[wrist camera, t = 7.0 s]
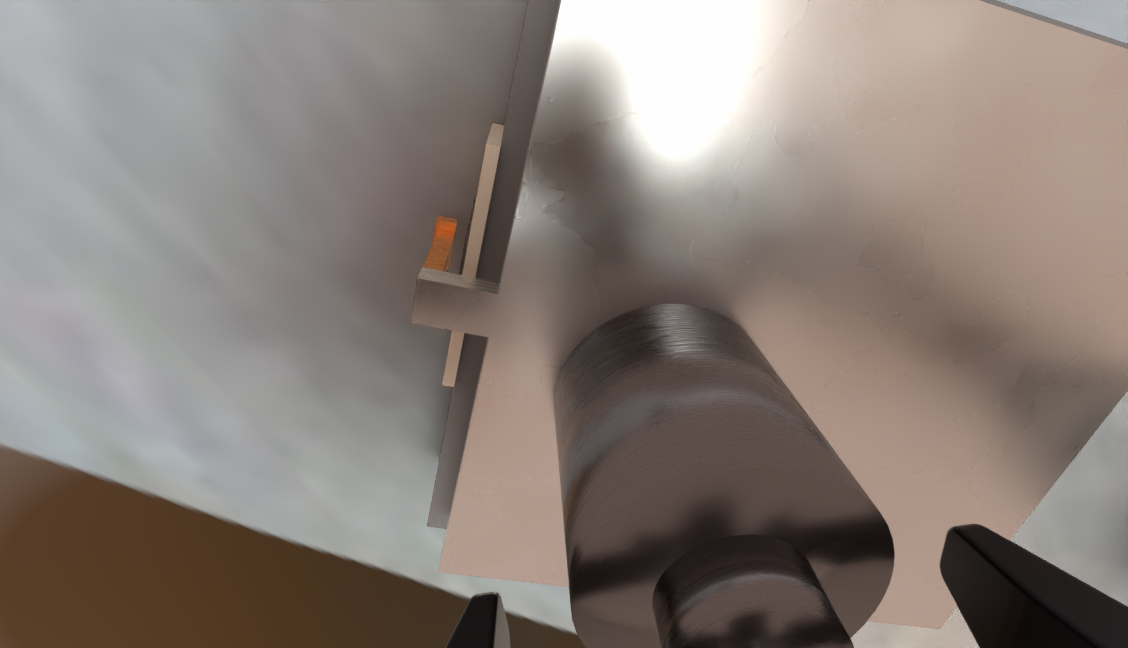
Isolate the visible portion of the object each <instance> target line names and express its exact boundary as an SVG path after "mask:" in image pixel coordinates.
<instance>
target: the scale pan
mask: <svg viewBox="0 0 1128 648" xmlns="http://www.w3.org/2000/svg"><path fill="white" fill-rule="evenodd" d="M457 220H458V219H453V218H448V217H444V216H439V215H438V216H437V219H436V223H435V229H434V236H433V242H432V246H431V249H430V251H429V254H428V256H427V259H426V261H425V263H424V266H423V267H422V268H421V270H420V273H419V275H418V278H417V284H416V291H415V297H414V304H413V311H412V318H411V323H413V324H419V325H424V326H430V327H435V328H441V329H446V330H451V331H457V332H462V333H468V334H473V335H479V336H484V337H488V338H487V342H486V347H485V352H484V356H483V361H482V366H481V370H480V375H479V380H478V384H477V389H476V394H475V398H474V403H473V408H472V412H471V417H470V422H469V426H468V431H467V436H466V440H465V445H464V450H463V454H462V459H461V464H460V468H459V473H458V478H457V482H456V487H455V492H454V496H453V501H452V506H451V510H450V515H449V520H448V524H447V529H446V534H445V538H444V543H443V548H442V552H441V559H440V565H439V572H442V573H451V574H460V575H468V576H477V577H486V578H495V579H504V580H512V581H521V582H530V583H539V584H547V585H556V586H565V587H569V580H568V568H567V557H566V545H565V533H564V522H563V510H562V498H561V487H560V475H559V463H558V452H557V440H556V429H555V417H554V393H555V388H556V383H557V380H558V378H559V375H560V372H561V370H562V368H563V366H564V364H565V362H566V361H567V359H568V357H569V356H570V355H571V353H572V352H573V351H574V349H575V348H576V347H577V346H578V345H579V344H580V343H581V342H582V340H583V339H584V338H585V337H587V336H588V335H589V334H590V333H591V332H593V331H594V330H595V329H596V328H598V327H599V326H601V325H603V324H604V323H606V322H607V321H609V320H611V319H613V318H615V317H617V316H619V315H621V314H624V313H626V312H629V311H632V310H635V309H638V308H643V307H647V306H652V305H661V304H686V305H693V306H698V307H702V308H706V309H709V310H712V311H714V312H717V313H719V314H721V315H724V316H725V317H727V318H728V319H730V320H732V321H733V322H735V323H736V324H737V325H738V326H740V327H741V328H742V329H743V330H744V331H745V332H746V333H747V334H748V335H749V336H750V337H751V339H752V340H753V341H754V342H755V344H756V345H757V347H758V348H759V349H760V351H761V352H762V353H763V355H764V356H765V357H766V359H767V360H768V361H769V363H770V364H771V365H772V367H773V368H774V369H775V371H776V372H777V374H778V375H779V376H780V378H781V379H782V380H783V382H784V383H785V384H786V386H787V387H788V388H789V390H790V391H791V392H792V394H793V395H794V396H795V398H796V399H797V401H798V402H799V403H800V405H801V406H802V407H803V409H804V410H805V411H806V413H807V414H808V415H809V417H810V418H811V419H812V421H813V422H814V424H815V425H816V426H817V428H818V429H819V430H820V432H821V433H822V434H823V436H824V437H825V438H826V440H827V441H828V442H829V444H830V445H831V446H832V448H833V449H834V451H835V452H836V453H837V455H838V456H839V457H840V459H841V460H842V461H843V463H844V464H845V465H846V467H847V468H848V469H849V471H850V472H851V473H852V475H853V476H854V478H855V479H856V480H857V482H858V483H859V484H860V486H861V487H862V488H863V490H864V491H865V492H866V494H867V495H868V496H869V498H870V499H871V500H872V502H873V503H874V505H875V506H876V507H877V509H878V510H879V511H880V513H881V514H882V516H883V518H884V519H885V521H886V523H887V524H888V527H889V530H890V532H891V535H892V538H893V544H894V552H895V557H894V569H893V573H892V577H891V581H890V584H889V586H888V589H887V591H886V593H885V595H884V598H883V599H882V601H881V602H880V604H879V606H878V607H877V609H876V611H875V612H874V613H873V614H872V616H871V617H870V618H869V619H868V621H873V622H881V623H890V624H899V625H908V626H917V627H925V628H934V629H940V628H941V627H942V625H943V624H944V623H945V622H946V620H947V619H948V618H949V616H950V615H951V614H952V613H953V611H954V610H955V609H956V608H957V604H956V603H955V601H954V599H953V597H952V595H951V593H950V591H949V589H948V588H947V586H946V584H945V582H944V580H943V578H942V575H941V571H940V559H941V554H942V550H943V546H944V542H945V538H946V534H947V531H948V530H949V529H950V528H951V527H953V526H959V525H966V524H979V525H982V526H984V527H986V528H988V529H990V530H992V531H994V532H995V533H997V534H999V535H1001V536H1003V537H1004V538H1006V539H1008V540H1010V539H1011V538H1012V536H1013V535H1014V534H1015V533H1016V531H1017V530H1018V529H1019V528H1020V526H1021V525H1022V524H1023V523H1024V521H1025V520H1026V519H1027V517H1028V516H1029V515H1030V514H1031V512H1032V511H1033V510H1034V509H1035V507H1036V506H1037V505H1038V503H1039V502H1040V501H1041V500H1042V498H1043V497H1044V496H1045V495H1046V493H1047V492H1048V491H1049V489H1050V488H1051V487H1052V486H1053V484H1054V483H1055V482H1056V481H1057V479H1058V478H1059V477H1060V476H1061V474H1062V473H1063V472H1064V470H1065V469H1066V468H1067V467H1068V465H1069V464H1070V463H1071V462H1072V460H1073V459H1074V458H1075V456H1076V455H1077V454H1078V453H1079V451H1080V450H1081V449H1082V448H1083V446H1084V445H1085V444H1086V443H1087V441H1088V440H1089V439H1090V437H1091V436H1092V435H1093V434H1094V432H1095V431H1096V430H1097V429H1098V427H1099V426H1100V425H1101V423H1102V422H1103V421H1104V420H1105V418H1106V417H1107V416H1108V415H1109V413H1110V412H1111V411H1112V410H1113V408H1114V407H1115V406H1116V404H1117V403H1118V402H1119V401H1120V399H1121V398H1122V397H1123V396H1124V394H1125V393H1126V392H1127V390H1128V49H1126V48H1123V47H1120V46H1117V45H1114V44H1111V43H1108V42H1105V41H1102V40H1098V39H1095V38H1092V37H1089V36H1086V35H1083V34H1080V33H1077V32H1074V31H1071V30H1068V29H1065V28H1062V27H1059V26H1056V25H1053V24H1050V23H1047V22H1044V21H1041V20H1037V19H1034V18H1031V17H1028V16H1025V15H1022V14H1019V13H1016V12H1013V11H1010V10H1007V9H1004V8H1001V7H998V6H995V5H992V4H989V3H986V2H983V1H980V0H560V2H559V6H558V11H557V16H556V20H555V25H554V30H553V34H552V39H551V44H550V48H549V53H548V58H547V62H546V67H545V72H544V76H543V81H542V86H541V90H540V95H539V100H538V104H537V109H536V114H535V118H534V123H533V128H532V132H531V137H530V142H529V146H528V151H527V156H526V160H525V165H524V170H523V174H522V179H521V184H520V188H519V193H518V198H517V202H516V207H515V212H514V216H513V221H512V226H511V230H510V235H509V240H508V244H507V249H506V254H505V258H504V263H503V268H502V272H501V277H500V282H495V281H490V280H485V279H480V278H475V277H470V276H465V275H460V274H455V273H450V272H447V269H448V268H449V265H450V261H451V255H452V250H453V244H454V238H455V232H456V226H457Z"/></svg>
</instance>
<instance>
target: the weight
mask: <svg viewBox="0 0 1128 648" xmlns="http://www.w3.org/2000/svg"><path fill="white" fill-rule="evenodd" d="M554 417H555V429H556V440H557V452H558V463H559V475H560V487H561V498H562V510H563V522H564V533H565V545H566V557H567V568H568V580H569V591H570V603H571V612H572V620H573V623H574V626H575V629H576V632H577V634H578V636H579V637H580V639H581V641H582V643H583V645H584V646H585V647H586V648H854V647H853V643H852V641H851V639H850V638H851V637H852V636H853V635H854V634H855V633H856V632H857V631H858V630H859V629H860V628H861V627H862V626H863V625H864V624H865V623H866V622H867V621H868V619H869V618H870V617H871V616H872V614H873V613H874V612H875V611H876V609H877V607H878V606H879V604H880V602H881V601H882V599H883V598H884V595H885V593H886V591H887V589H888V586H889V584H890V581H891V577H892V573H893V569H894V557H895V552H894V544H893V538H892V535H891V532H890V530H889V527H888V524H887V523H886V521H885V519H884V518H883V516H882V514H881V513H880V511H879V510H878V509H877V507H876V506H875V505H874V503H873V502H872V500H871V499H870V498H869V496H868V495H867V494H866V492H865V491H864V490H863V488H862V487H861V486H860V484H859V483H858V482H857V480H856V479H855V478H854V476H853V475H852V473H851V472H850V471H849V469H848V468H847V467H846V465H845V464H844V463H843V461H842V460H841V459H840V457H839V456H838V455H837V453H836V452H835V451H834V449H833V448H832V446H831V445H830V444H829V442H828V441H827V440H826V438H825V437H824V436H823V434H822V433H821V432H820V430H819V429H818V428H817V426H816V425H815V424H814V422H813V421H812V419H811V418H810V417H809V415H808V414H807V413H806V411H805V410H804V409H803V407H802V406H801V405H800V403H799V402H798V401H797V399H796V398H795V396H794V395H793V394H792V392H791V391H790V390H789V388H788V387H787V386H786V384H785V383H784V382H783V380H782V379H781V378H780V376H779V375H778V374H777V372H776V371H775V369H774V368H773V367H772V365H771V364H770V363H769V361H768V360H767V359H766V357H765V356H764V355H763V353H762V352H761V351H760V349H759V348H758V347H757V345H756V344H755V342H754V341H753V340H752V339H751V337H750V336H749V335H748V334H747V333H746V332H745V331H744V330H743V329H742V328H741V327H740V326H738V325H737V324H736V323H735V322H733V321H732V320H730V319H728V318H727V317H725V316H724V315H721V314H719V313H717V312H714V311H712V310H709V309H706V308H702V307H698V306H693V305H686V304H661V305H652V306H647V307H643V308H638V309H635V310H632V311H629V312H626V313H624V314H621V315H619V316H617V317H615V318H613V319H611V320H609V321H607V322H606V323H604V324H603V325H601V326H599V327H598V328H596V329H595V330H594V331H593V332H591V333H590V334H589V335H588V336H587V337H585V338H584V339H583V340H582V342H581V343H580V344H579V345H578V346H577V347H576V348H575V349H574V351H573V352H572V353H571V355H570V356H569V357H568V359H567V361H566V362H565V364H564V366H563V368H562V370H561V372H560V375H559V378H558V380H557V383H556V388H555V393H554Z"/></svg>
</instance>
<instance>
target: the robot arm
mask: <svg viewBox="0 0 1128 648" xmlns="http://www.w3.org/2000/svg"><path fill="white" fill-rule="evenodd" d="M940 571H941V575H942V578H943V580H944V582H945V584H946V586H947V588H948V589H949V591H950V593H951V595H952V597H953V599H954V601H955V603H956V604H957V606H958V608H959V610H960V612H961V614H962V616H963V617H964V619H965V621H966V623H967V625H968V627H969V629H970V631H971V632H972V634H973V636H974V638H975V640H976V642H977V644H978V645H979V647H980V648H1128V607H1127V606H1125V605H1124V604H1122V603H1120V602H1118V601H1117V600H1115V599H1113V598H1111V597H1109V596H1108V595H1106V594H1104V593H1102V592H1101V591H1099V590H1097V589H1095V588H1093V587H1092V586H1090V585H1088V584H1086V583H1084V582H1083V581H1081V580H1079V579H1077V578H1076V577H1074V576H1072V575H1070V574H1068V573H1067V572H1065V571H1063V570H1061V569H1060V568H1058V567H1056V566H1054V565H1052V564H1051V563H1049V562H1047V561H1045V560H1044V559H1042V558H1040V557H1038V556H1036V555H1035V554H1033V553H1031V552H1029V551H1027V550H1026V549H1024V548H1022V547H1020V546H1019V545H1017V544H1015V543H1013V542H1011V541H1010V540H1008V539H1006V538H1004V537H1003V536H1001V535H999V534H997V533H995V532H994V531H992V530H990V529H988V528H986V527H984V526H982V525H979V524H966V525H959V526H953V527H951V528H950V529H949V530H948V531H947V534H946V538H945V542H944V546H943V550H942V554H941V559H940ZM445 648H510V636H509V628H508V623H507V620H506V616H505V612H504V608H503V604H502V600H501V597H500V595H499V593H497V592H489V593H482V594H476V595H474V596H473V597H472V598H471V599H470V600H469V602H468V604H467V606H466V608H465V610H464V612H463V614H462V616H461V618H460V620H459V622H458V623H457V626H456V627H455V629H454V631H453V633H452V635H451V637H450V639H449V641H448V643H447V645H446V647H445Z"/></svg>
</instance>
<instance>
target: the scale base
mask: <svg viewBox="0 0 1128 648" xmlns="http://www.w3.org/2000/svg"><path fill="white" fill-rule="evenodd" d="M980 1H983V2H986V3H989V4H992V5H995V6H998V7H1001V8H1004V9H1007V10H1010V11H1013V12H1016V13H1019V14H1022V15H1025V16H1028V17H1031V18H1034V19H1037V20H1041V21H1044V22H1047V23H1050V24H1053V25H1056V26H1059V27H1062V28H1065V29H1068V30H1071V31H1074V32H1077V33H1080V34H1083V35H1086V36H1089V37H1092V38H1095V39H1098V40H1102V41H1105V42H1108V43H1111V44H1114V45H1117V46H1120V47H1123V48H1126V49H1128V44H1127V43H1124V42H1121V41H1117V40H1114V39H1111V38H1108V37H1105V36H1102V35H1099V34H1096V33H1093V32H1090V31H1087V30H1084V29H1081V28H1078V27H1075V26H1072V25H1069V24H1066V23H1063V22H1060V21H1057V20H1054V19H1051V18H1048V17H1045V16H1042V15H1039V14H1036V13H1033V12H1030V11H1027V10H1024V9H1020V8H1017V7H1014V6H1011V5H1008V4H1005V3H1002V2H999V1H996V0H980ZM559 2H560V0H528V4H527V9H526V15H525V20H524V25H523V30H522V35H521V40H520V46H519V51H518V56H517V61H516V66H515V71H514V77H513V82H512V87H511V92H510V97H509V102H508V108H507V113H506V118H505V123H504V125H500V124H496V123H492V125H491V129H490V132H489V136H488V139H487V142H486V147H485V153H484V158H483V164H482V169H481V175H480V180H479V185H478V191H477V196H476V199H475V200H474V206H473V209H472V212H471V217H470V222H469V223H468V228H467V234H466V239H465V245H464V250H463V256H462V261H461V267H460V272H459V274H460V275H465V276H470V277H475V278H480V279H485V280H490V281H495V282H500V277H501V272H502V268H503V263H504V258H505V254H506V249H507V244H508V240H509V235H510V230H511V226H512V221H513V216H514V212H515V207H516V202H517V198H518V193H519V188H520V184H521V179H522V174H523V170H524V165H525V160H526V156H527V151H528V146H529V142H530V137H531V132H532V128H533V123H534V118H535V114H536V109H537V104H538V100H539V95H540V90H541V86H542V81H543V76H544V72H545V67H546V62H547V58H548V53H549V48H550V44H551V39H552V34H553V30H554V25H555V20H556V16H557V11H558V6H559ZM487 338H488V337H484V336H479V335H473V334H468V333H462V332H457V331H452V333H451V338H450V344H449V349H448V355H447V360H446V366H445V371H444V377H443V382H442V385H444V386H450V387H453V392H452V397H451V402H450V407H449V412H448V418H447V423H446V428H445V433H444V438H443V443H442V449H441V454H440V459H439V464H438V470H437V475H436V480H435V486H434V491H433V496H432V502H431V507H430V512H429V518H428V523H427V526H428V527H436V528H444V529H447V524H448V520H449V515H450V510H451V506H452V501H453V496H454V492H455V487H456V482H457V478H458V473H459V468H460V464H461V459H462V454H463V450H464V445H465V440H466V436H467V431H468V426H469V422H470V417H471V412H472V408H473V403H474V398H475V394H476V389H477V384H478V380H479V375H480V370H481V366H482V361H483V356H484V352H485V347H486V342H487Z"/></svg>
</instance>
